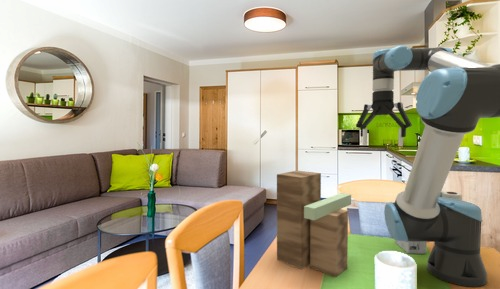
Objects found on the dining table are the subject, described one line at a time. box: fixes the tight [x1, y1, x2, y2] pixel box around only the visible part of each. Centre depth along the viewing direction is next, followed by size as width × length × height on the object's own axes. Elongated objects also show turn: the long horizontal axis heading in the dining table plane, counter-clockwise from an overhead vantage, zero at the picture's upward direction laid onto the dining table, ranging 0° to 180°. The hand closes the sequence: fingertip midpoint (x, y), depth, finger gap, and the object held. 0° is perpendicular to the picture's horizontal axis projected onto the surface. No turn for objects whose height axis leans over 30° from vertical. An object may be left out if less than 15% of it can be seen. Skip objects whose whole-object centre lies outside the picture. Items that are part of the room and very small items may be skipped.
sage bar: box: [304, 192, 352, 220], centre depth 94 cm, size 24×4×4 cm, turn 136°
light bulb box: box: [394, 239, 427, 255], centre depth 110 cm, size 11×7×11 cm, turn 179°
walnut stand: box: [276, 170, 349, 278], centre depth 97 cm, size 12×20×30 cm, turn 46°
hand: (381, 145), depth 114 cm, fingers open, 13 cm apart
